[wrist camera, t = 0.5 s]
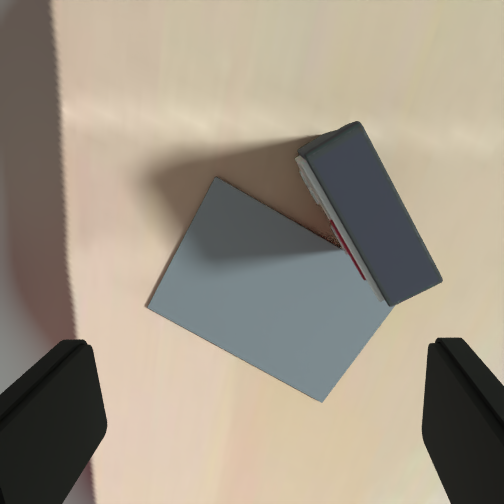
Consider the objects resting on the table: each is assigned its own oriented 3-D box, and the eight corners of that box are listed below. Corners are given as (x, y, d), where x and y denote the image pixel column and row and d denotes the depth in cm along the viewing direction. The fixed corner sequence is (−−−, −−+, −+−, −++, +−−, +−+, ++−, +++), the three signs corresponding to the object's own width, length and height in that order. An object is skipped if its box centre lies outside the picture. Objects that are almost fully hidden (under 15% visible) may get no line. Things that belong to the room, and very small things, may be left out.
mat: (216, 176, 37) (215, 177, 37) (406, 286, 38) (408, 287, 38) (148, 305, 42) (147, 307, 41) (321, 399, 43) (322, 402, 42)
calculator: (289, 154, 36) (291, 161, 22) (330, 129, 35) (359, 119, 21) (344, 251, 38) (379, 316, 24) (384, 229, 37) (446, 283, 23)
